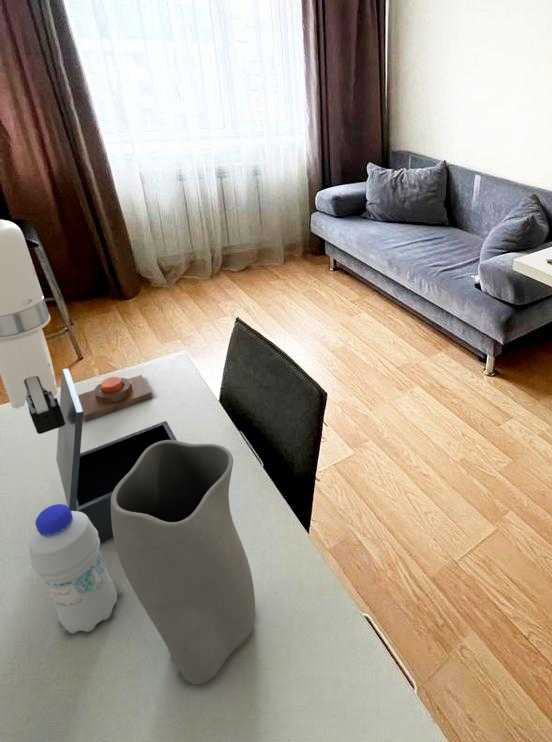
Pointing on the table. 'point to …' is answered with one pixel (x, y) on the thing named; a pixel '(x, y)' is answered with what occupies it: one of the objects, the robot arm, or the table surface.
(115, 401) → the block
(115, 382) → the button
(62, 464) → the lid
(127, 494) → the vase
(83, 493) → the box
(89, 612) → the bottle
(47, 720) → the table surface
